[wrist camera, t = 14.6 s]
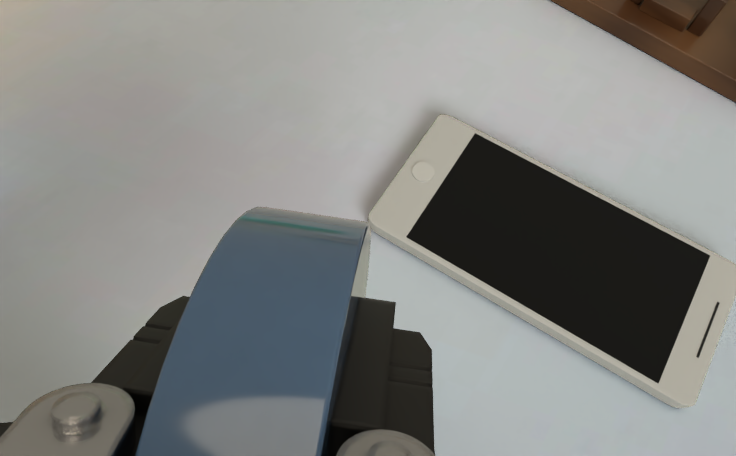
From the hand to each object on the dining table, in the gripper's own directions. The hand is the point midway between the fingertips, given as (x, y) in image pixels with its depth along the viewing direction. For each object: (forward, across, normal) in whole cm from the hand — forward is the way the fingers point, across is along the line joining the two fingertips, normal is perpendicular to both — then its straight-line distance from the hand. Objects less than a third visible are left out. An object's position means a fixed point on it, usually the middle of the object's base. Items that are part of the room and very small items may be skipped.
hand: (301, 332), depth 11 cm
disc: (-1, 0, +2) cm, 2 cm away
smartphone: (+15, -9, +3) cm, 18 cm away
